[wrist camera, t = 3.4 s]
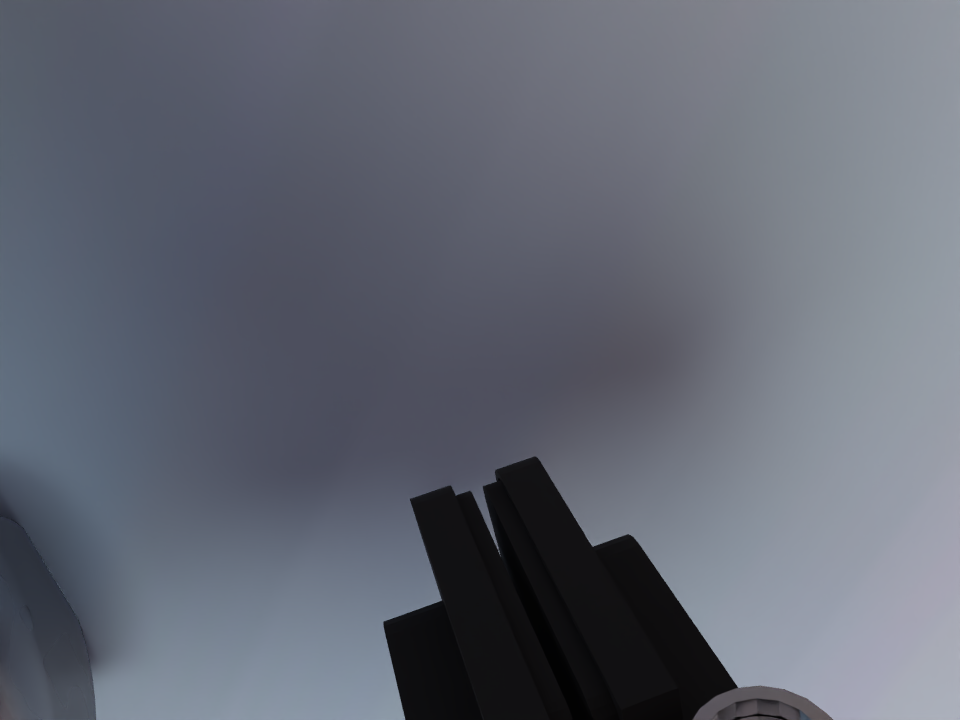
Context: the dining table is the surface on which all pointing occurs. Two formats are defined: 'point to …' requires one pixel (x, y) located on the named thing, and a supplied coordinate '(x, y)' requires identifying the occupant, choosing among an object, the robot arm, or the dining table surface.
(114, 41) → the dining table surface
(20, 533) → the axle
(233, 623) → the dining table surface
